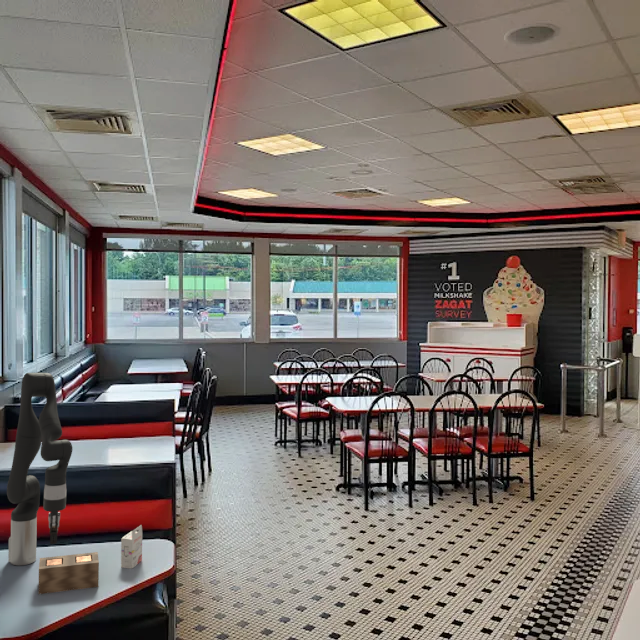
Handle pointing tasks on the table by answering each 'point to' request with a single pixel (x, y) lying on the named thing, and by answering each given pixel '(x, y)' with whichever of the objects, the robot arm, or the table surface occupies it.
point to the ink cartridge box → (131, 548)
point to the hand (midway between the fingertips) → (53, 543)
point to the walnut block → (68, 573)
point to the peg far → (83, 559)
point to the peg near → (54, 562)
